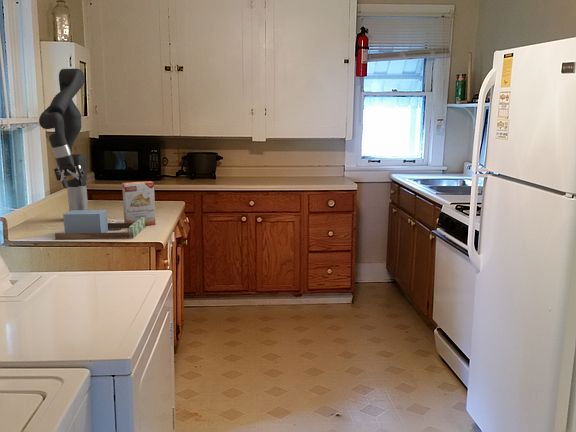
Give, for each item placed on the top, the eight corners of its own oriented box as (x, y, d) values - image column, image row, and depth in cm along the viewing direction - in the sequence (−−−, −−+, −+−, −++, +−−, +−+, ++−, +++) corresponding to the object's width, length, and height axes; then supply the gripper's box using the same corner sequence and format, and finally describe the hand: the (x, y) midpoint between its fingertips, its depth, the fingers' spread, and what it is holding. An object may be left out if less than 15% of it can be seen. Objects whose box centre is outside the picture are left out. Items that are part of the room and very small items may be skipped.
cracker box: (126, 227, 263) (124, 183, 259) (124, 225, 268) (121, 182, 264) (156, 224, 269) (154, 181, 265) (153, 222, 274) (150, 180, 270)
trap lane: (73, 228, 262) (72, 218, 261) (144, 227, 263) (144, 217, 262) (55, 239, 240) (54, 228, 239) (133, 238, 241) (132, 226, 240)
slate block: (73, 231, 256) (71, 210, 254) (108, 231, 256) (106, 209, 254) (65, 236, 246) (63, 214, 244) (101, 236, 246) (99, 213, 245)
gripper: (80, 150, 263) (91, 183, 269) (55, 154, 267) (66, 185, 273) (70, 155, 256) (82, 188, 262) (45, 158, 261) (57, 191, 266)
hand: (74, 187), depth 267 cm, fingers open, 8 cm apart
